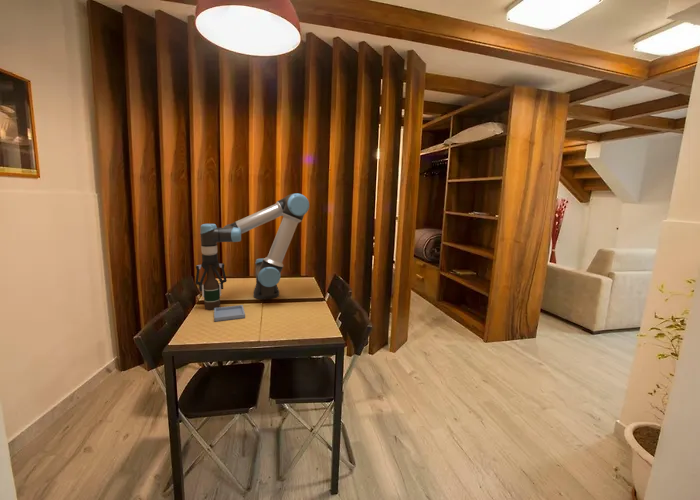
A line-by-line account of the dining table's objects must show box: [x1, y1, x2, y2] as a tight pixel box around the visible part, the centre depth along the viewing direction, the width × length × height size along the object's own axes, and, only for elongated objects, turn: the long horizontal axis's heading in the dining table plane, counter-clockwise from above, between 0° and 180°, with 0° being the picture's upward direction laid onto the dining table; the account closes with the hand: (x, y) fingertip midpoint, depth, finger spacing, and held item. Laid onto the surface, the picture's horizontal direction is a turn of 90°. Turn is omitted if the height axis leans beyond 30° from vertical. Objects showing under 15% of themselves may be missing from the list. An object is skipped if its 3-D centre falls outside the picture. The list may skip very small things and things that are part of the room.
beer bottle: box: [203, 265, 221, 311], centre depth 165 cm, size 8×8×24 cm
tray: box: [213, 304, 246, 323], centre depth 158 cm, size 14×14×2 cm
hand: (212, 295), depth 166 cm, fingers closed on beer bottle, 8 cm apart
